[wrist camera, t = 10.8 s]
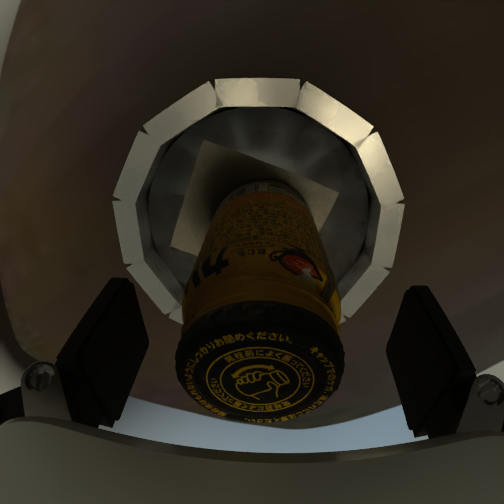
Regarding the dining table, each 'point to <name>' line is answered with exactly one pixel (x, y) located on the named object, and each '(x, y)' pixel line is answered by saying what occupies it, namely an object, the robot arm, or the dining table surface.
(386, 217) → the faceted plate
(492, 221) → the dining table surface
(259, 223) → the condiment
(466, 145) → the dining table surface
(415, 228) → the dining table surface
